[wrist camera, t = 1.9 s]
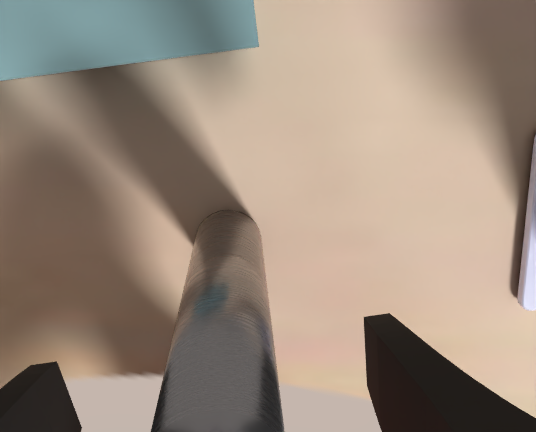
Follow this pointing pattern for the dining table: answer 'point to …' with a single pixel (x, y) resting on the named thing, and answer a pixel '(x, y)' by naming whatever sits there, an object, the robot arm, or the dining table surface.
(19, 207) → the dining table surface
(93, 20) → the block
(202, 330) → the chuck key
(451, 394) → the robot arm
